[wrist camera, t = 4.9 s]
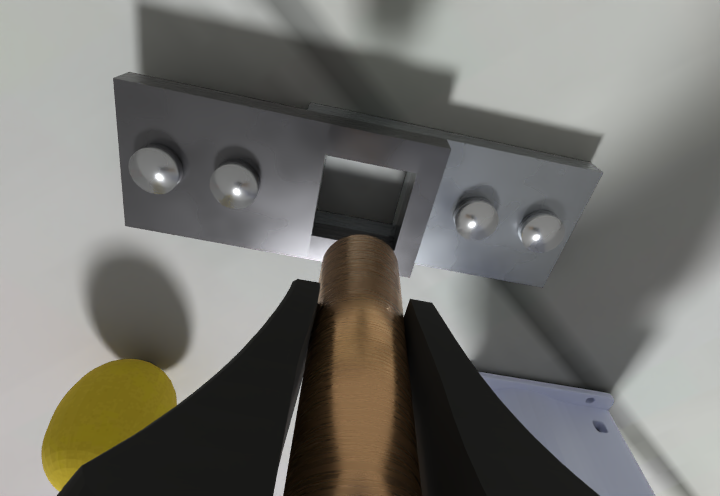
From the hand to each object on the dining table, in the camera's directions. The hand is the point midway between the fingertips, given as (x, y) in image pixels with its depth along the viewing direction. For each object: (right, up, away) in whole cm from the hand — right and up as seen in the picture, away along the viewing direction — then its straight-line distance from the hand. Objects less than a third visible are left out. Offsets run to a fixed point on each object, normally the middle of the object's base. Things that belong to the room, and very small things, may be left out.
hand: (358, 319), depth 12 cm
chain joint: (0, +5, +8) cm, 9 cm away
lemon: (-12, -5, +14) cm, 20 cm away
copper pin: (0, +1, +2) cm, 2 cm away
